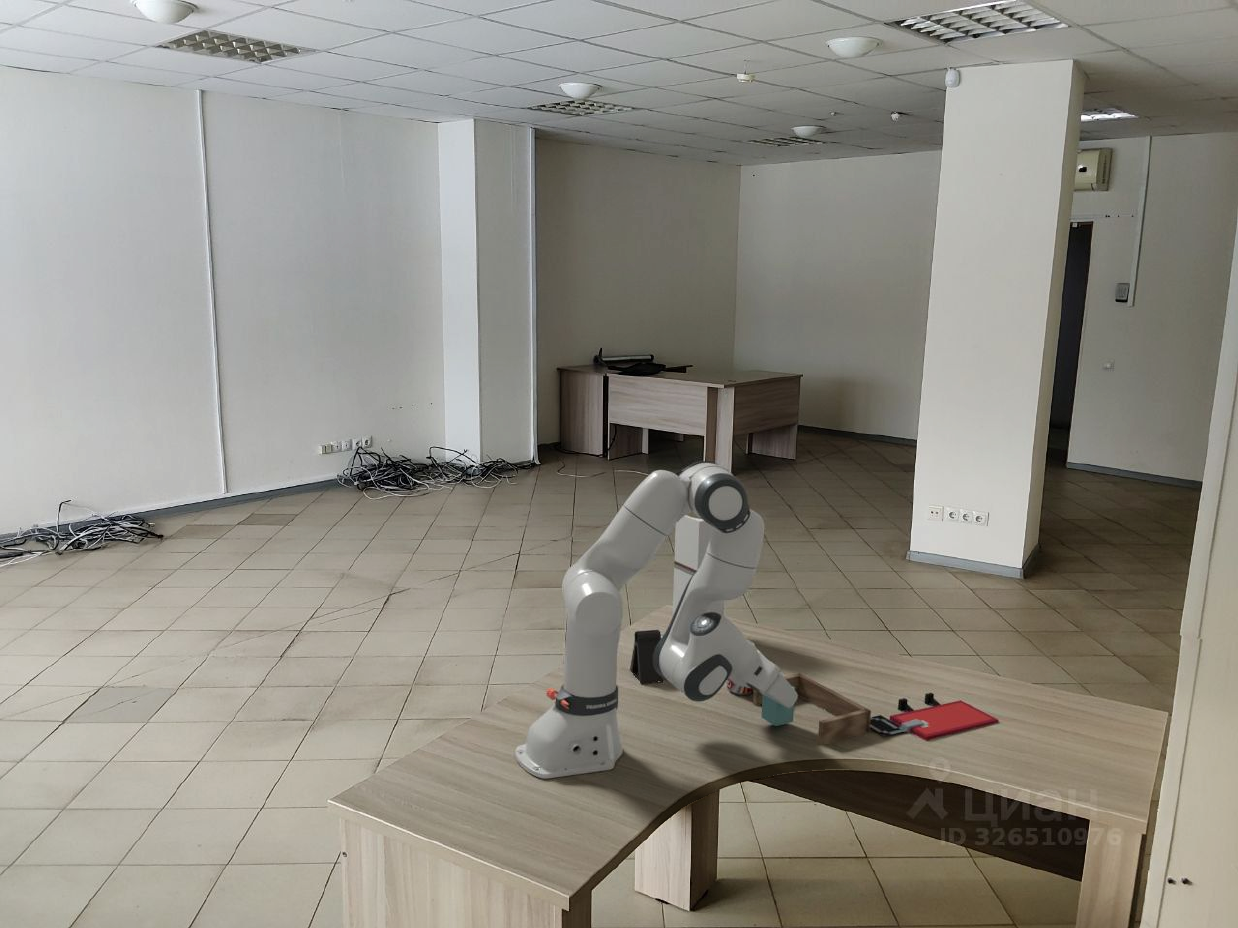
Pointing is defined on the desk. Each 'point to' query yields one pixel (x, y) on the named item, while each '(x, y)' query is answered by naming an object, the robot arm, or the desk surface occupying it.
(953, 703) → the red board with handle
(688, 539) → the white striped pillar
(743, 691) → the soda can
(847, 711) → the walnut u-shaped frame
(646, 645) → the phone stand
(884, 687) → the desk surface
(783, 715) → the teal block
